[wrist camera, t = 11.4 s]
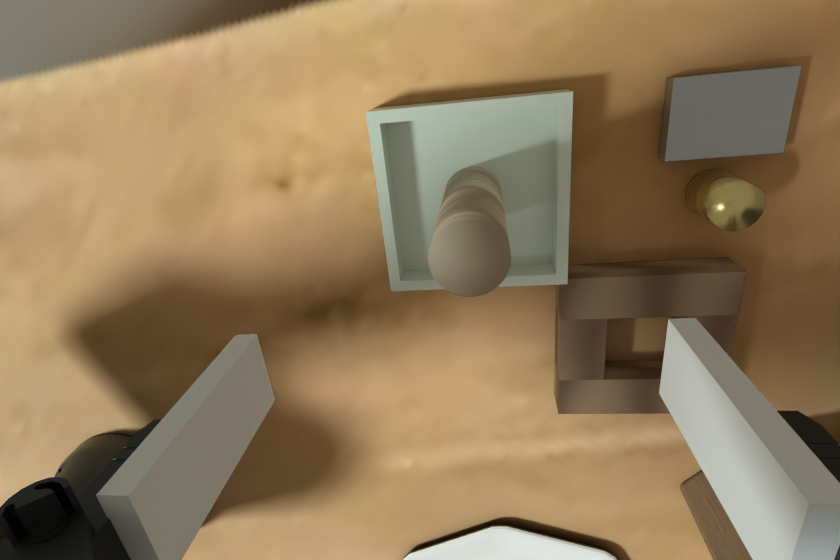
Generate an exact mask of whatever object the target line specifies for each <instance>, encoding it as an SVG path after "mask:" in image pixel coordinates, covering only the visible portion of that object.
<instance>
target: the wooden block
mask: <svg viewBox="0 0 840 560" xmlns="http://www.w3.org/2000/svg"><path fill="white" fill-rule="evenodd" d="M680 489H681V492H682V494H683V496H684V498H685V500H686V502H687V504H688V507H689V509H690V511H691V513H692V515H693V517H694V519H695V522H696V524H697V526H698V528H699V530H700V532H701V535H702V537H703V539H704V541H705V543H706V545H707V547H708V550H709V552H710V554H711V556H712V558H713V560H753V559H752V558H751V556H750V554H749V552H748V550H747V549H746V547H745V545H744V543H743V542H742V540H741V538H740V536H739V534H738V533H737V531H736V529H735V527H734V526H733V524H732V522H731V520H730V518H729V517H728V515H727V513H726V511H725V510H724V508H723V506H722V504H721V502H720V501H719V499H718V497H717V495H716V494H715V492H714V490H713V488H712V486H711V485H710V483H709V481H708V479H707V478H706V476H705V474H704V472H703V471H701V472H699V473H698V474H696V475H694V476H693V477H691V478H690V479H688V480H687V481H685V482H684V483H682V484H681V486H680Z"/></svg>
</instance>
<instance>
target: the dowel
mask: <svg viewBox="0 0 840 560" xmlns="http://www.w3.org/2000/svg"><path fill="white" fill-rule="evenodd" d="M428 264H429V268H430V271H431V273H432V276H433V277H434V279H435V280H436V281H437V283H438V284H439V285H440V286H442V287H443V288H444V289H446V290H447V291H449V292H451V293H453V294H456V295H460V296H466V297H473V296H480V295H483V294H486V293H488V292H490V291H492V290H494V289H495V288H497V287H498V286H499V285H500V284H501V283H502V282H503V281H504V279H505V278H506V276H507V274H508V272H509V269H510V265H511V251H510V245H509V238H508V232H507V225H506V219H505V213H504V206H503V200H502V193H501V188H500V185H499V182H498V180H497V179H496V178H495V176H494V175H493V174H492V173H490V172H489V171H487V170H485V169H483V168H479V167H468V168H464V169H462V170H460V171H458V172H456V173H455V174H454V175H453V176H452V177H451V178H450V180H449V181H448V183H447V185H446V189H445V192H444V196H443V200H442V203H441V207H440V211H439V215H438V218H437V222H436V226H435V229H434V233H433V237H432V241H431V244H430V248H429V252H428Z"/></svg>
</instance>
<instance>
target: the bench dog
mask: <svg viewBox="0 0 840 560" xmlns="http://www.w3.org/2000/svg"><path fill="white" fill-rule="evenodd" d="M686 201H687V203H688V205H689V206H690V207H691V208H692V209H693V210H695V211H696V212H698V213H699V214H701V215H702V216H703V217H705V218H706V219H708V220H709V221H710V222H712V223H713V224H715V225H716V226H717V227H719V228H721V229H723V230H726V231H738V230H742V229H745V228H747V227H749V226H750V225H752V224H753V223H754V222H756V221H757V220H758V219H759V217H760V216H761V214H762V213H763V210H764V207H765V196H764V194H763V192H762V191H761V189H760V188H758V187H757V186H755V185H753V184H751V183H749V182H747V181H745V180H742V179H740V178H738V177H736V176H734V175H732V174H729V173H727V172H725V171H723V170H720V169H709V170H705V171H703V172H701V173H699V174H697V175H696V176H695V177H694V178H693V179H692V180H691V181H690V183H689V184H688V186H687V189H686Z"/></svg>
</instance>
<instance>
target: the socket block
mask: <svg viewBox="0 0 840 560" xmlns="http://www.w3.org/2000/svg"><path fill="white" fill-rule="evenodd" d="M745 276H746V271H745V270H744V269H743V268H741V267H740V266H739V265H738V264H736V263H735V262H734V261H733V260H731V259H730V258H708V259H686V260H665V261H643V262H622V263H601V264H579V265H568V284H562V285H556V334H555V388H554V395H555V399H556V404H557V408H558V413H559V414H635V413H670V412H669V410H668V408H667V407H666V405H665V403H664V401H663V399H662V398H661V396H660V394H659V390H660V382H661V374H662V366H663V360H635V361H605V352H606V337H607V323H608V319H613V318H645V317H672V319H679V318H696V319H697V320H698V321H699V322H700V324H701V325H702V326H703V327H704V328H705V329H706V330H707V332H708V333H709V334H710V335H711V336H712V337H713V338H714V340H715V341H716V342H717V343H718V344H719V345H720V346H721V348H722V349H723V350H724V351H725V352H726V353H727V355H728V356H729V357H730V352H731V347H732V342H733V337H734V332H735V327H736V322H737V317H738V312H739V307H740V302H741V296H742V291H743V286H744V281H745Z"/></svg>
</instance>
